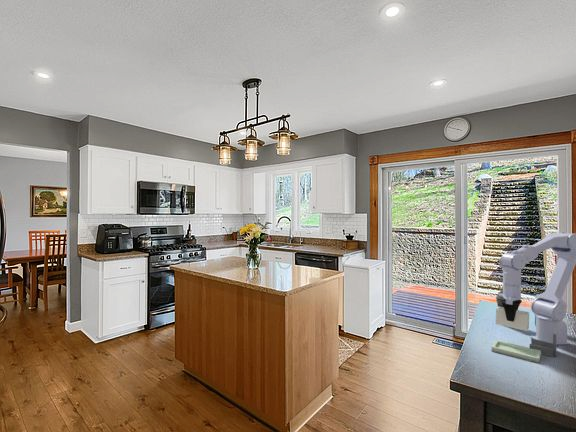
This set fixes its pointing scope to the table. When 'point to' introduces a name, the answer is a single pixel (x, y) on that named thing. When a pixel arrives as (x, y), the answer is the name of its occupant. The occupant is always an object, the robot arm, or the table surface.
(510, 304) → the robot arm
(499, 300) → the beverage cup
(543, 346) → the bay
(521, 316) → the box
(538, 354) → the tray
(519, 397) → the table surface
